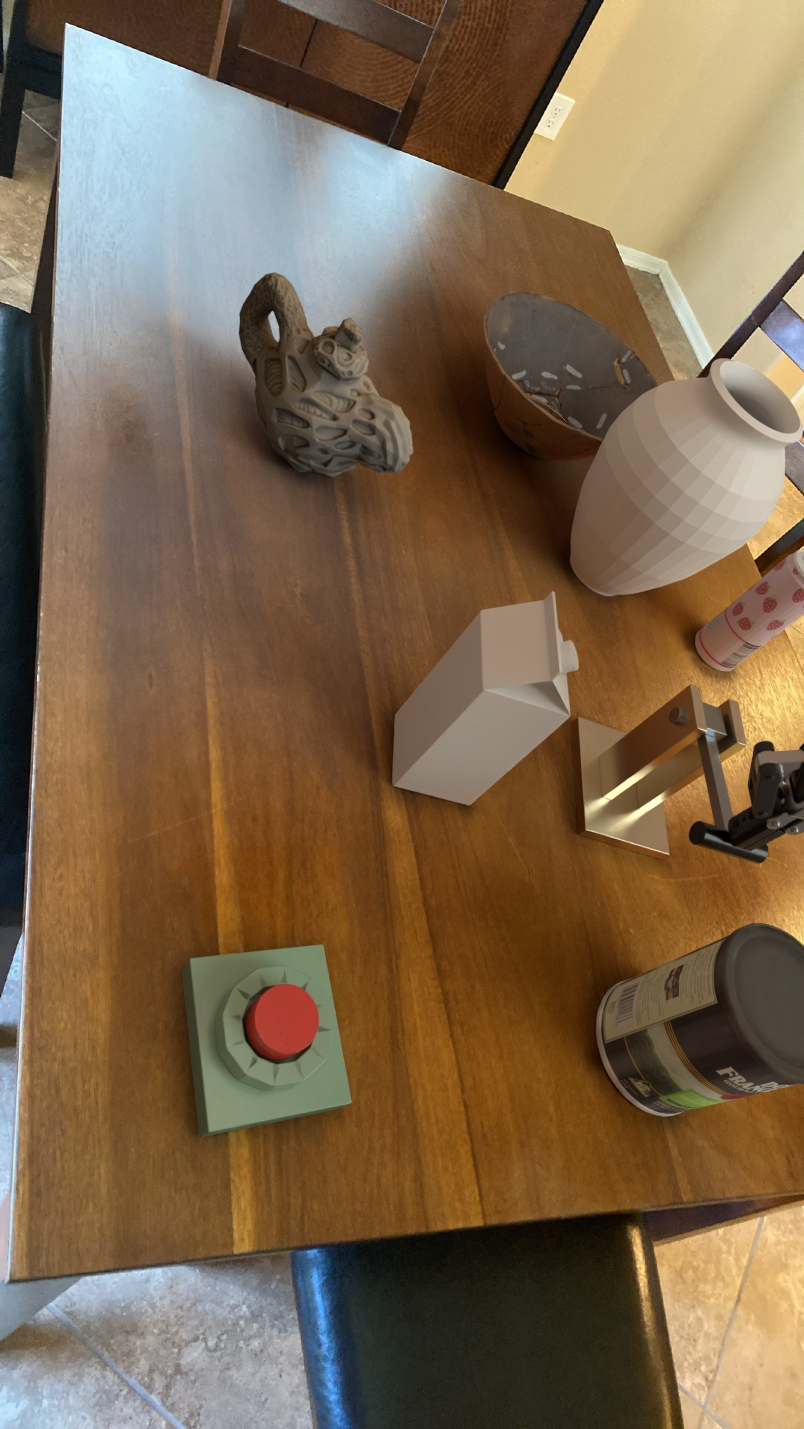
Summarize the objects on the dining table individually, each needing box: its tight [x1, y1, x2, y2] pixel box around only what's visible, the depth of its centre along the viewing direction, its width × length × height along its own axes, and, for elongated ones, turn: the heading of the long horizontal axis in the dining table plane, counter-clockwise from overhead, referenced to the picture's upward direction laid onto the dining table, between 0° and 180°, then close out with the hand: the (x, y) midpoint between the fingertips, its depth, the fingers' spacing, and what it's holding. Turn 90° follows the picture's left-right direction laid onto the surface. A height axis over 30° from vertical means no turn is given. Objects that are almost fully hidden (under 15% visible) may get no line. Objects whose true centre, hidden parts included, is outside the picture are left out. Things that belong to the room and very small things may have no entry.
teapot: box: [238, 272, 414, 478], centre depth 80 cm, size 21×12×15 cm, turn 53°
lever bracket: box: [570, 683, 748, 860], centre depth 75 cm, size 12×9×14 cm
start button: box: [246, 984, 319, 1060], centre depth 52 cm, size 4×4×2 cm
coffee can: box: [595, 922, 804, 1117], centre depth 62 cm, size 10×10×14 cm
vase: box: [569, 358, 804, 597], centre depth 88 cm, size 18×18×25 cm
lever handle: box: [688, 701, 769, 865], centre depth 68 cm, size 13×6×2 cm, turn 176°
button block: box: [181, 943, 353, 1138], centre depth 54 cm, size 10×9×4 cm
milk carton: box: [391, 590, 580, 806], centre depth 66 cm, size 7×7×19 cm
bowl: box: [481, 291, 659, 463], centre depth 103 cm, size 25×25×10 cm
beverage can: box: [694, 549, 804, 672], centre depth 93 cm, size 6×6×15 cm
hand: (737, 837), depth 64 cm, fingers closed
